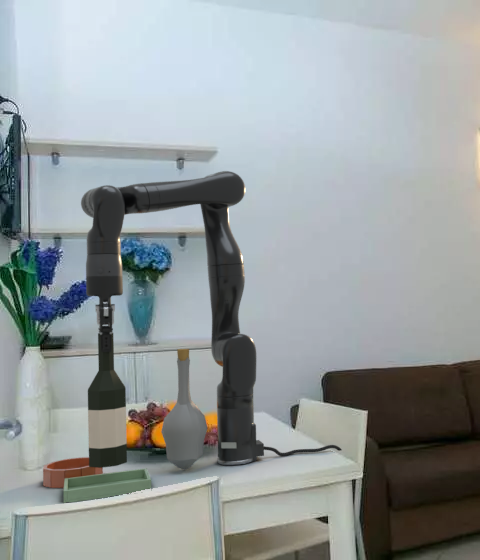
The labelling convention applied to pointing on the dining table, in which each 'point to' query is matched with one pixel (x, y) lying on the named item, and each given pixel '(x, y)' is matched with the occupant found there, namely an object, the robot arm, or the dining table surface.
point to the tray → (105, 485)
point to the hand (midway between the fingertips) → (105, 351)
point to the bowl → (67, 471)
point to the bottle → (184, 422)
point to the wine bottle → (107, 414)
